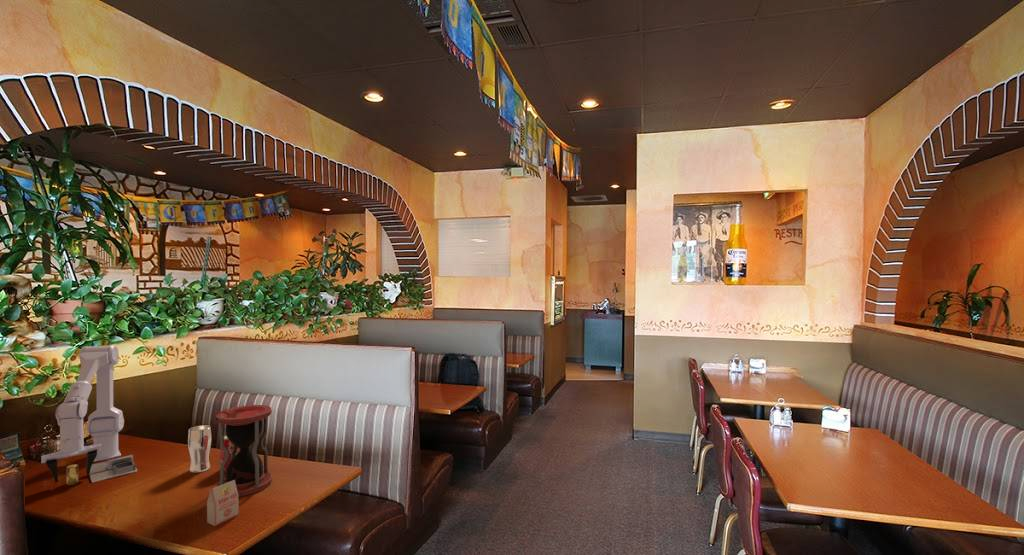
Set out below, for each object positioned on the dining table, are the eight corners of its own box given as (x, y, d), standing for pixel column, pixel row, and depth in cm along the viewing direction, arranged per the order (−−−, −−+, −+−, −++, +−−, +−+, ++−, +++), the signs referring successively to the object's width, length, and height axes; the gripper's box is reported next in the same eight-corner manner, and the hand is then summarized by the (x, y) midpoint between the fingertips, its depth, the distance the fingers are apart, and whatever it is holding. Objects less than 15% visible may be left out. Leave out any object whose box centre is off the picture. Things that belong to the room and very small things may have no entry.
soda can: (247, 465, 170) (247, 433, 170) (234, 473, 163) (233, 439, 163) (229, 464, 170) (229, 432, 170) (215, 472, 163) (215, 439, 163)
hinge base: (89, 474, 162) (89, 465, 162) (133, 464, 170) (133, 455, 170) (91, 483, 155) (91, 472, 155) (137, 471, 164) (137, 462, 164)
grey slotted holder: (88, 468, 167) (88, 458, 167) (130, 458, 176) (130, 449, 176) (90, 475, 161) (90, 465, 160) (134, 465, 169) (134, 455, 169)
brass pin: (66, 483, 155) (66, 466, 155) (78, 481, 157) (77, 463, 157) (67, 486, 153) (66, 468, 153) (78, 483, 155) (78, 466, 155)
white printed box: (207, 522, 131) (206, 487, 131) (231, 511, 137) (230, 478, 137) (214, 526, 129) (214, 490, 129) (238, 514, 135) (238, 481, 135)
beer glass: (202, 473, 163) (202, 431, 162) (183, 473, 163) (183, 431, 163) (215, 465, 170) (215, 424, 169) (197, 465, 170) (196, 424, 170)
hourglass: (255, 471, 165) (254, 401, 164) (282, 482, 156) (281, 408, 156) (206, 489, 151) (205, 413, 150) (233, 502, 142) (232, 422, 142)
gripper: (41, 446, 147) (41, 488, 147) (102, 434, 157) (102, 474, 157) (40, 440, 152) (41, 481, 152) (99, 429, 162) (100, 468, 162)
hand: (72, 477), depth 155 cm, fingers open, 7 cm apart
